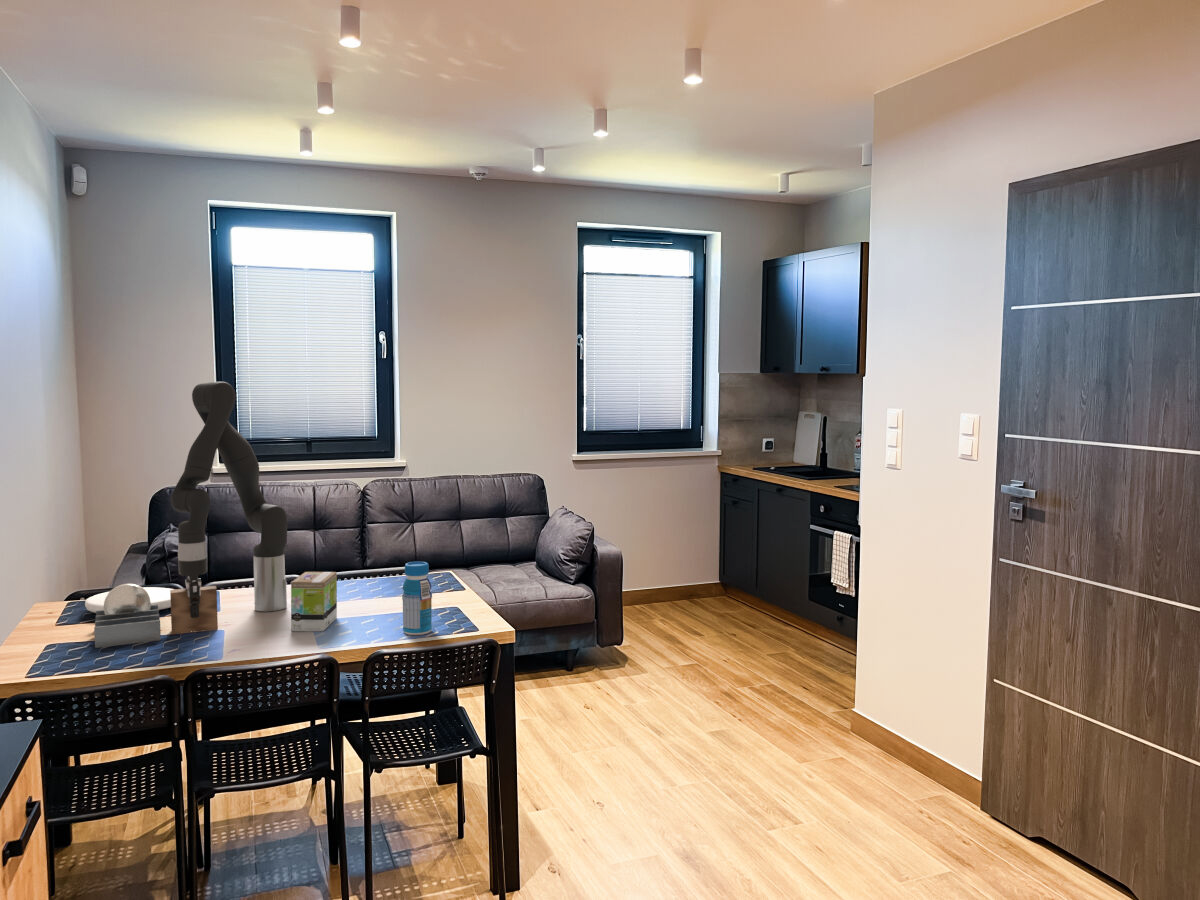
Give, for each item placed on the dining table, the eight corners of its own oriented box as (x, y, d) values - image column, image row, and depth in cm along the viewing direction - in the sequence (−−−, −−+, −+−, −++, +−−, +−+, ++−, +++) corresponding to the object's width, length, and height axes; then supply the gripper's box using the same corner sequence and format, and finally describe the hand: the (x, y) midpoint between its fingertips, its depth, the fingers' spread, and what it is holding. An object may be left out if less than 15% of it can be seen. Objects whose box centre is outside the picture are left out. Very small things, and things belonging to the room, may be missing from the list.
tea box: (325, 631, 259) (324, 581, 258) (290, 632, 258) (289, 581, 257) (337, 618, 274) (337, 570, 273) (304, 618, 273) (303, 570, 272)
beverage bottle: (402, 636, 254) (401, 567, 253) (402, 628, 263) (402, 561, 261) (432, 635, 256) (431, 566, 254) (432, 627, 264) (431, 560, 263)
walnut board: (216, 625, 265) (215, 585, 264) (217, 629, 261) (216, 588, 260) (171, 630, 259) (170, 590, 258) (172, 634, 255) (170, 593, 254)
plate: (130, 582, 299) (201, 587, 294) (129, 602, 299) (200, 607, 294) (64, 593, 272) (141, 598, 266) (63, 615, 272) (140, 620, 266)
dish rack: (158, 622, 267) (157, 579, 266) (160, 640, 250) (159, 593, 249) (97, 629, 260) (95, 584, 259) (95, 648, 242) (93, 599, 241)
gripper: (208, 560, 254) (210, 620, 255) (204, 551, 266) (206, 608, 268) (179, 563, 250) (181, 623, 252) (176, 554, 263) (178, 611, 264)
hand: (194, 615), depth 260 cm, fingers closed on walnut board, 4 cm apart
